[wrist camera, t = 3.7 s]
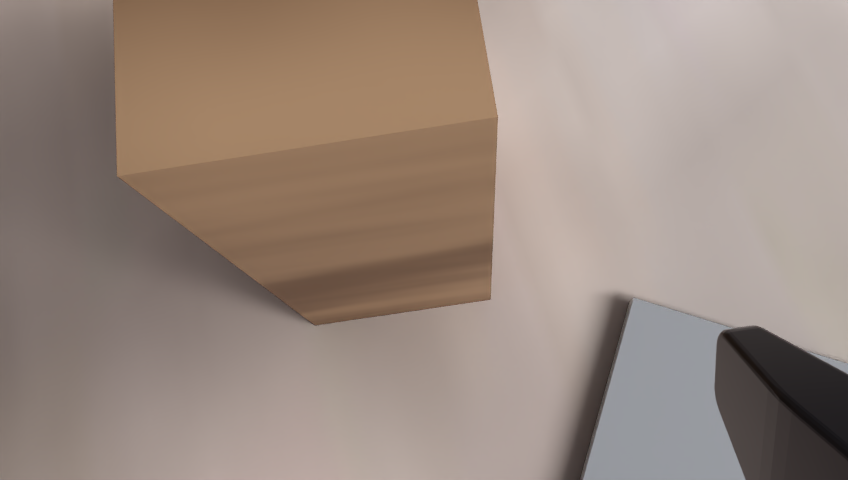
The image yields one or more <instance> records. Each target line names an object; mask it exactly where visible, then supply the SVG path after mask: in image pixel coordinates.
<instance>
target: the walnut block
mask: <svg viewBox="0 0 848 480" xmlns="http://www.w3.org/2000/svg"><path fill="white" fill-rule="evenodd" d="M113 17H114V63H115V109H116V155H117V177H119V178H120V179H121V180H123V181H124V182H125V183H127V184H128V185H129V186H131V187H132V188H133V189H135V190H136V191H137V192H139V193H140V194H141V195H143V196H144V197H145V198H147V199H148V200H149V201H151V202H152V203H153V204H155V205H156V206H157V207H158V208H160V209H161V210H162V211H164V212H165V213H166V214H168V215H169V216H170V217H172V218H173V219H174V220H176V221H177V222H178V223H180V224H181V225H182V226H184V227H185V228H186V229H188V230H189V231H190V232H192V233H193V234H194V235H196V236H197V237H198V238H200V239H201V240H202V241H204V242H205V243H206V244H208V245H209V246H210V247H212V248H213V249H214V250H215V251H217V252H218V253H219V254H221V255H222V256H223V257H225V258H226V259H227V260H229V261H230V262H231V263H233V264H234V265H235V266H237V267H238V268H239V269H241V270H242V271H243V272H245V273H246V274H247V275H249V276H250V277H251V278H253V279H254V280H255V281H257V282H258V283H259V284H261V285H262V286H263V287H265V288H266V289H267V290H268V291H270V292H271V293H272V294H274V295H275V296H276V297H278V298H279V299H280V300H282V301H283V302H284V303H286V304H287V305H288V306H290V307H291V308H292V309H294V310H295V311H296V312H298V313H299V314H300V315H302V316H303V317H304V318H306V319H307V320H308V321H310V322H311V323H312V324H314V325H320V324H327V323H334V322H341V321H348V320H354V319H361V318H368V317H375V316H382V315H389V314H395V313H402V312H409V311H416V310H423V309H429V308H436V307H443V306H450V305H457V304H463V303H470V302H477V301H484V300H490V299H491V274H492V249H493V224H494V199H495V174H496V149H497V124H498V115H497V109H496V104H495V98H494V92H493V87H492V81H491V75H490V70H489V64H488V58H487V53H486V47H485V41H484V36H483V30H482V24H481V19H480V13H479V7H478V2H477V0H113Z"/></svg>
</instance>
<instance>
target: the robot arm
mask: <svg viewBox="0 0 848 480" xmlns="http://www.w3.org/2000/svg"><path fill="white" fill-rule="evenodd" d="M714 390H715V397H716V402H717V406H718V409H719V412H720V414H721V417H722V420H723V422H724V425H725V427H726V430H727V433H728V435H729V438H730V440H731V443H732V446H733V448H734V451H735V454H736V456H737V459H738V461H739V464H740V467H741V469H742V472H743V475H744V477H745V480H848V374H847V373H846V372H844V371H842V370H840V369H838V368H836V367H834V366H832V365H831V364H829V363H827V362H825V361H823V360H821V359H819V358H818V357H816V356H814V355H812V354H810V353H808V352H806V351H805V350H803V349H801V348H799V347H797V346H795V345H793V344H791V343H790V342H788V341H786V340H784V339H782V338H780V337H778V336H777V335H775V334H773V333H771V332H769V331H767V330H765V329H763V328H761V327H759V326H746V327H739V328H732V329H725V330H723V331H722V332H721V333H720V334H719V336H718V338H717V344H716V364H715V383H714Z"/></svg>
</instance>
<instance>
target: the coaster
mask: <svg viewBox="0 0 848 480" xmlns="http://www.w3.org/2000/svg"><path fill="white" fill-rule="evenodd" d="M725 329H732V328H730V327H727V326H724V325H721V324H717V323H714V322H711V321H708V320H704V319H701V318H698V317H695V316H692V315H688V314H685V313H682V312H679V311H675V310H672V309H669V308H666V307H662V306H659V305H656V304H653V303H650V302H646V301H643V300H640V299H637V298H633V299H632V300H631V301H630V302H629V306H628V310H627V313H626V317H625V320H624V324H623V328H622V331H621V335H620V338H619V342H618V345H617V349H616V353H615V356H614V360H613V363H612V367H611V370H610V374H609V378H608V381H607V385H606V388H605V392H604V396H603V399H602V403H601V406H600V410H599V413H598V417H597V421H596V424H595V428H594V431H593V435H592V439H591V442H590V446H589V449H588V453H587V456H586V460H585V464H584V467H583V471H582V474H581V478H580V480H745V477H744V475H743V472H742V469H741V467H740V464H739V461H738V459H737V456H736V454H735V451H734V448H733V446H732V443H731V440H730V438H729V435H728V433H727V430H726V427H725V425H724V422H723V420H722V417H721V414H720V412H719V409H718V406H717V402H716V397H715V390H714V383H715V364H716V344H717V338H718V336H719V334H720V333H721V332H722V331H723V330H725ZM806 352H808V351H806ZM808 353H810V354H812V355H814V356H816V357H818V358H819V359H821V360H823V361H825V362H827V363H829V364H831V365H832V366H834V367H836V368H838V369H840V370H842V371H844V372H846V373H847V374H848V364H847V363H843V362H840V361H837V360H834V359H830V358H827V357H824V356H821V355H818V354H814V353H811V352H808Z"/></svg>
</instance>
